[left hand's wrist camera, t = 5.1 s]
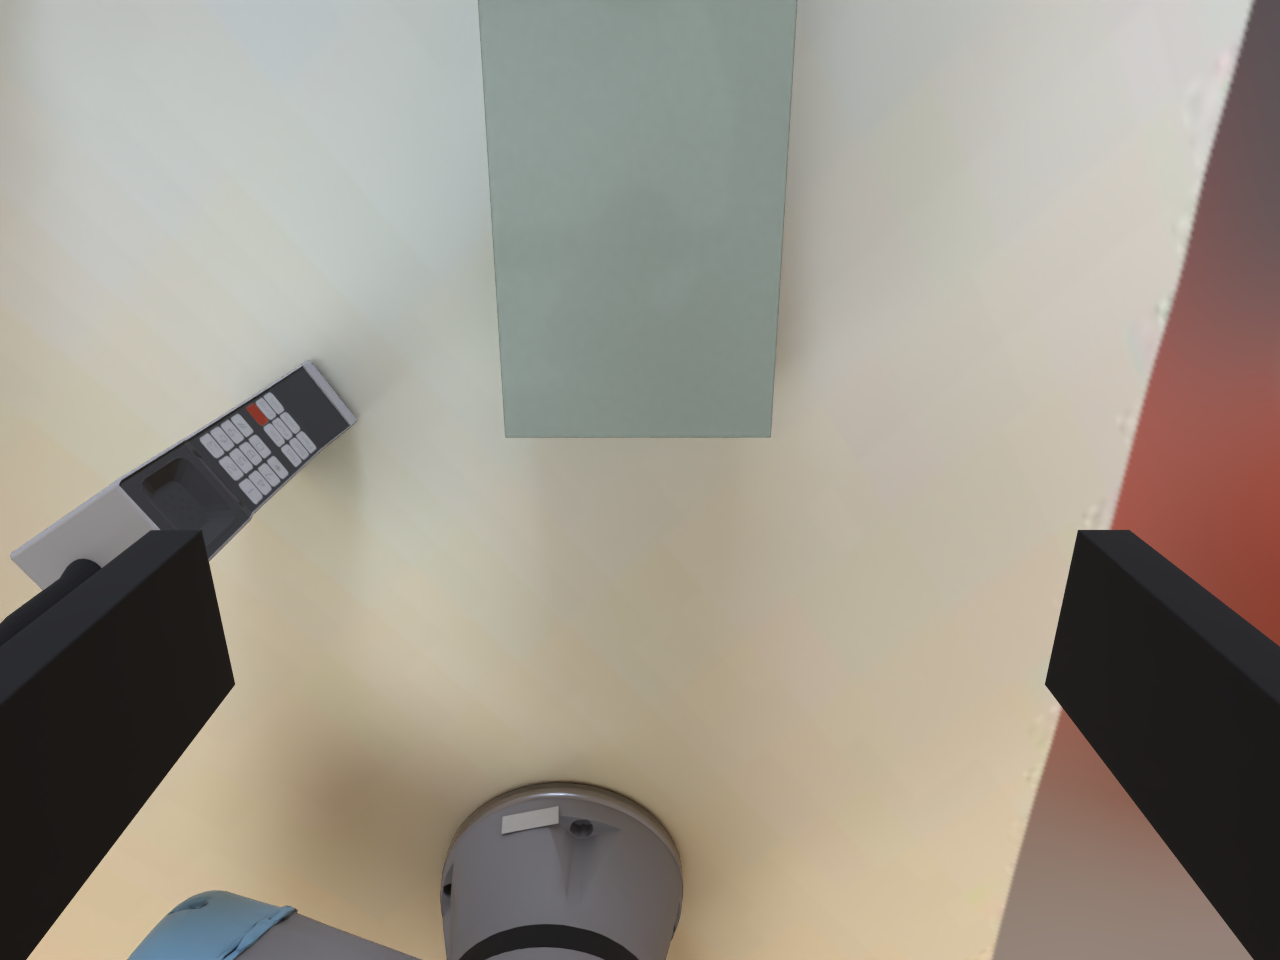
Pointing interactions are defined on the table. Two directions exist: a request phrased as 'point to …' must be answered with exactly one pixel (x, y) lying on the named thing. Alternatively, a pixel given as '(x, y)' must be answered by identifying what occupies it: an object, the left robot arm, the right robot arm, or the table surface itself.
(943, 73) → the table surface
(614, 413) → the sage green rectangular box
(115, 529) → the vintage mobile phone
